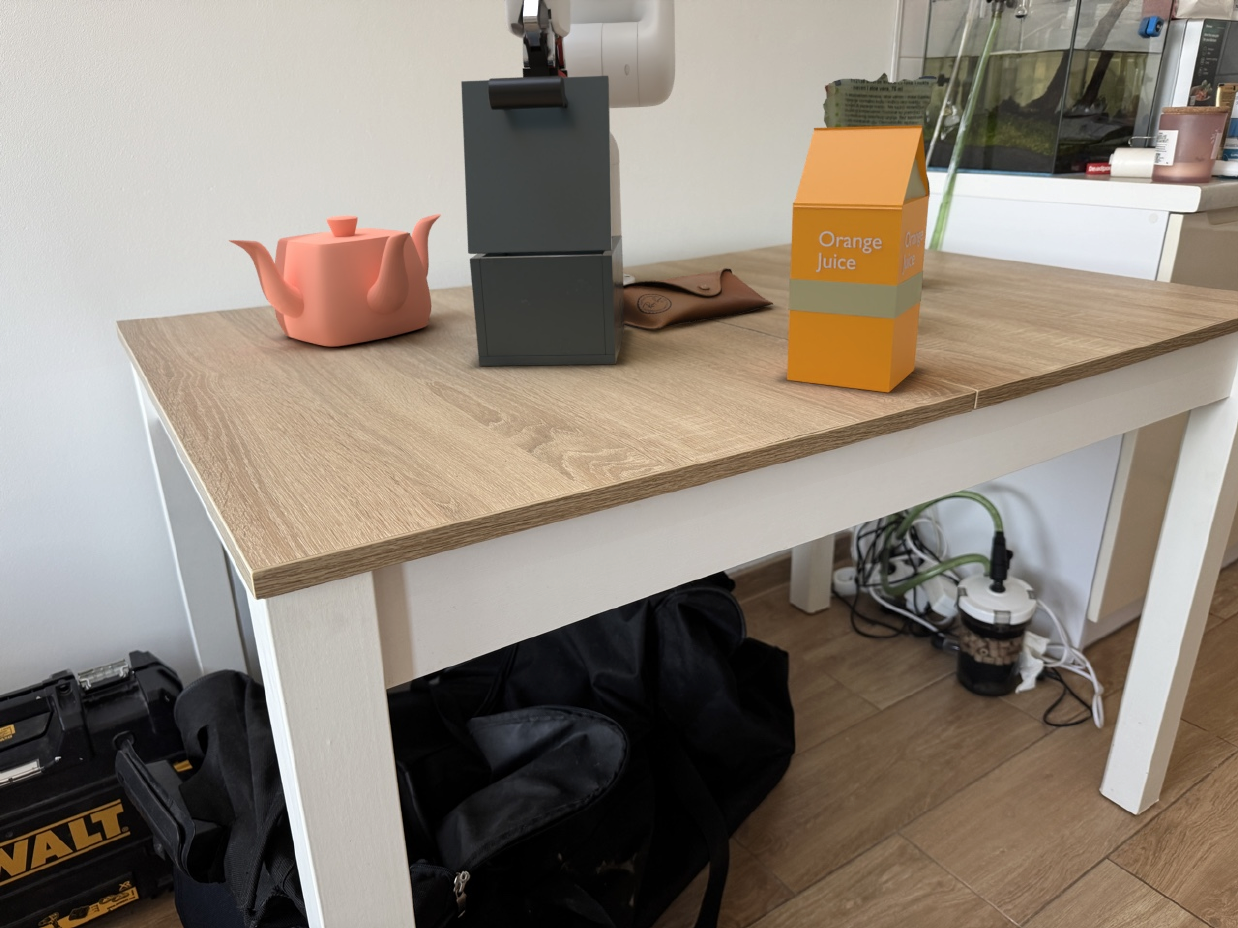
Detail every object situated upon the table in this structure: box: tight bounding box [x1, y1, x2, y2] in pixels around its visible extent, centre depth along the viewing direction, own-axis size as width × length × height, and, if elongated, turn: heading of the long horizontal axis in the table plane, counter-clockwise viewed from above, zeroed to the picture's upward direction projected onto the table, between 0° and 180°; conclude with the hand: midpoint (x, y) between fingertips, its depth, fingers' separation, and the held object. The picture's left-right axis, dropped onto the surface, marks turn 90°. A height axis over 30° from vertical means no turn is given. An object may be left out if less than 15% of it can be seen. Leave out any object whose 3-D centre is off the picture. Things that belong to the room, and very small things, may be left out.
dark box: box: [469, 235, 626, 367], centre depth 89 cm, size 14×13×10 cm
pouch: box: [822, 72, 939, 198], centre depth 111 cm, size 11×12×25 cm
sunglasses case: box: [624, 267, 774, 330], centre depth 103 cm, size 18×7×7 cm
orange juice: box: [786, 125, 930, 393], centre depth 75 cm, size 8×9×20 cm
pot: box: [228, 213, 442, 347], centre depth 98 cm, size 18×17×12 cm
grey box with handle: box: [460, 76, 612, 255], centre depth 77 cm, size 15×13×6 cm
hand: (548, 113), depth 86 cm, fingers closed on onion, 5 cm apart
